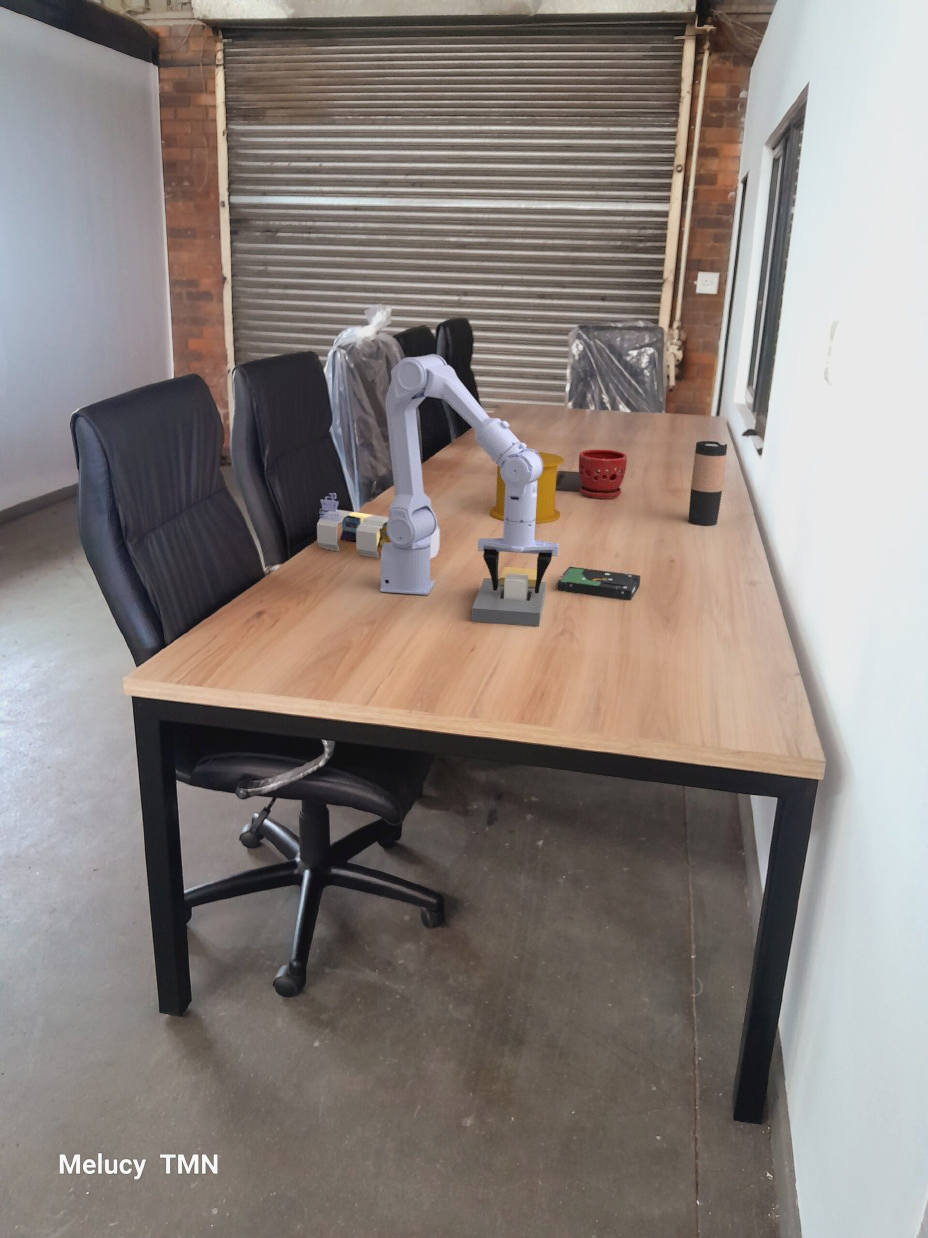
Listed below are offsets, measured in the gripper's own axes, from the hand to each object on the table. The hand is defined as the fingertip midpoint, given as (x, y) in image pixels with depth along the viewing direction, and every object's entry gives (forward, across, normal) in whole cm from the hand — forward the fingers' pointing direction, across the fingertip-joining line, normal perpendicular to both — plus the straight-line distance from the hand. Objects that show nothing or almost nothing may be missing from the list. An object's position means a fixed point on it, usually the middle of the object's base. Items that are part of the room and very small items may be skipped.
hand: (516, 590), depth 176 cm
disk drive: (+4, +15, +15) cm, 22 cm away
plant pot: (+4, +15, +99) cm, 100 cm away
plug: (+3, 0, 0) cm, 4 cm away
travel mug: (+4, +41, +75) cm, 86 cm away
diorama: (+4, -33, +30) cm, 45 cm away
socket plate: (+3, -1, 0) cm, 4 cm away
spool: (+4, -4, +72) cm, 72 cm away
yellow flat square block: (+1, 0, +8) cm, 8 cm away
